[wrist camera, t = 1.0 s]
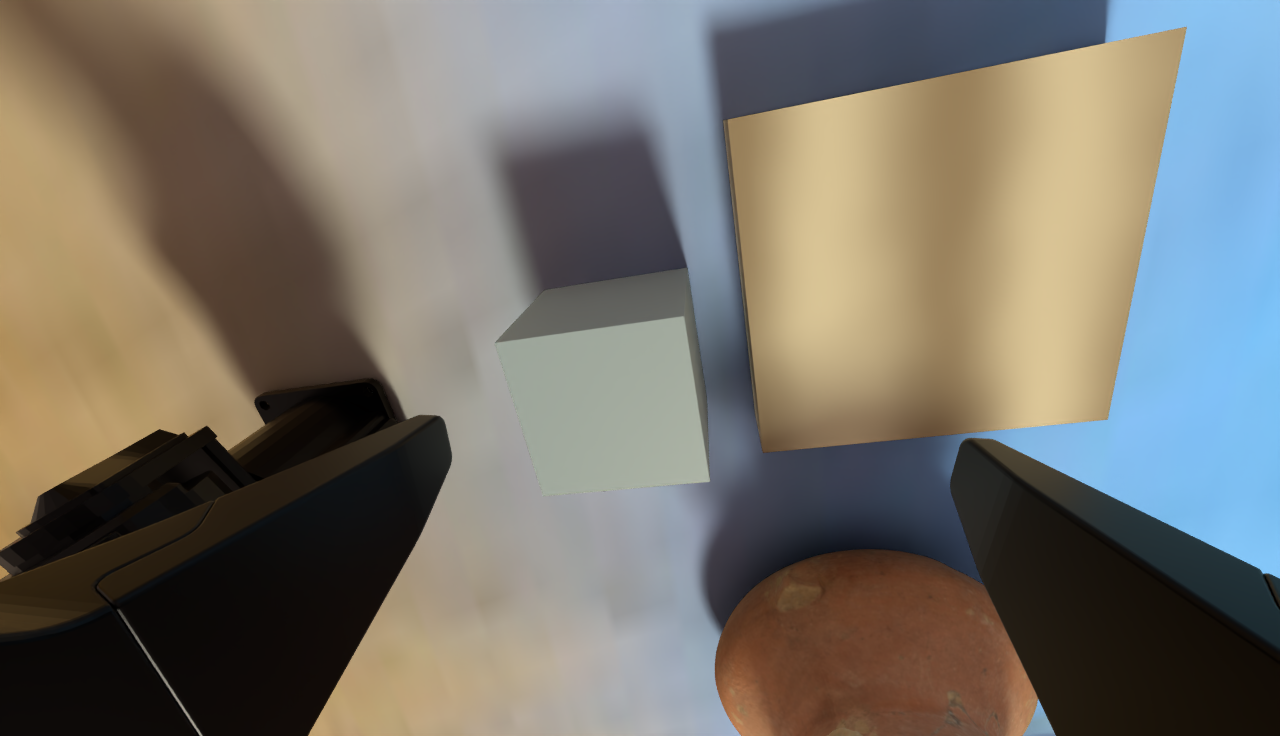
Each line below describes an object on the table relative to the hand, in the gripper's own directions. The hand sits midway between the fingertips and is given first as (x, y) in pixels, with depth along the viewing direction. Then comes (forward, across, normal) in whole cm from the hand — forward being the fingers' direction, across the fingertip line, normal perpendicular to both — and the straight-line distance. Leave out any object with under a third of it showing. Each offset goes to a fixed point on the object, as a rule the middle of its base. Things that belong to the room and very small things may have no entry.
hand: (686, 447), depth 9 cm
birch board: (+13, -8, 0) cm, 15 cm away
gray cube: (+13, +3, +4) cm, 14 cm away
